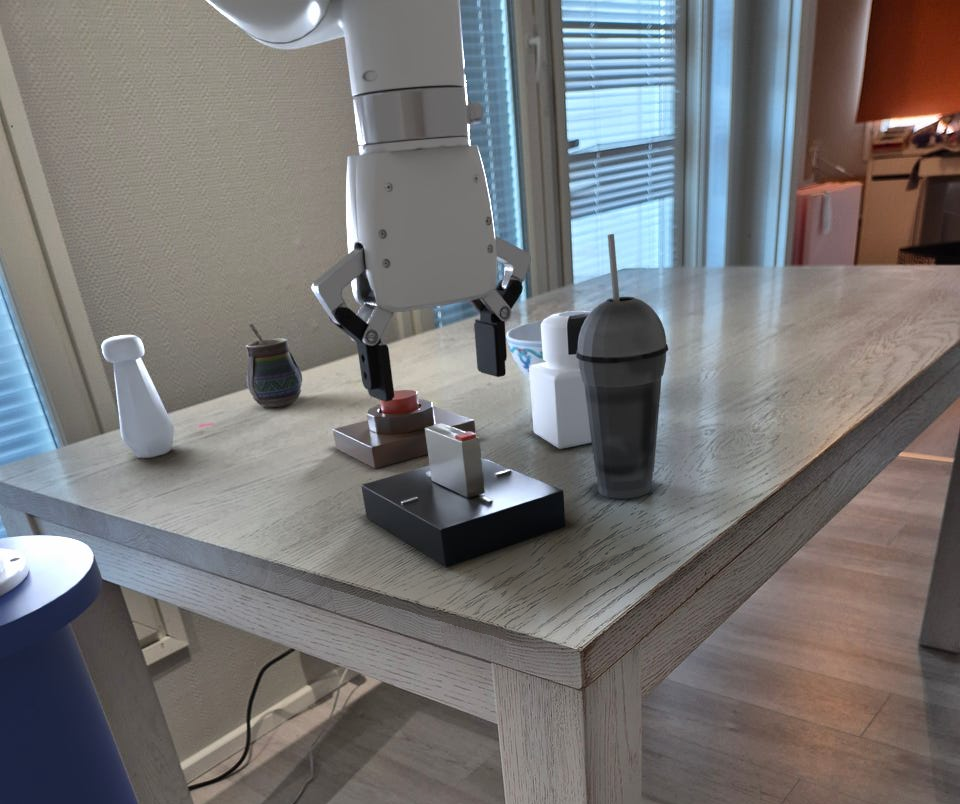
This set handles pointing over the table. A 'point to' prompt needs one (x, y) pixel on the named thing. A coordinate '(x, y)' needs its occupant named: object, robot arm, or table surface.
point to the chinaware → (526, 345)
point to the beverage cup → (622, 388)
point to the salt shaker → (138, 399)
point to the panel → (463, 512)
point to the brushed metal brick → (455, 459)
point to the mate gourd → (272, 372)
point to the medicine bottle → (560, 383)
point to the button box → (395, 434)
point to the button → (400, 402)
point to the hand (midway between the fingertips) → (438, 385)
